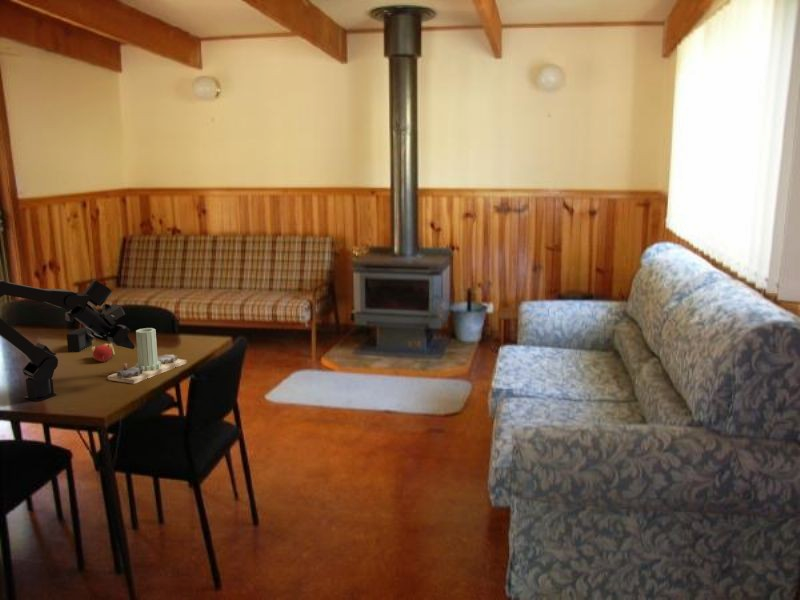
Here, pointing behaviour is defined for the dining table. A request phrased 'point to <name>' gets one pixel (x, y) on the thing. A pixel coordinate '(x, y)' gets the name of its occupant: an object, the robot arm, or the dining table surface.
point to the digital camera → (78, 340)
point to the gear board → (138, 375)
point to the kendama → (103, 352)
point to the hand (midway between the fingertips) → (126, 345)
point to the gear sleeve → (147, 349)
